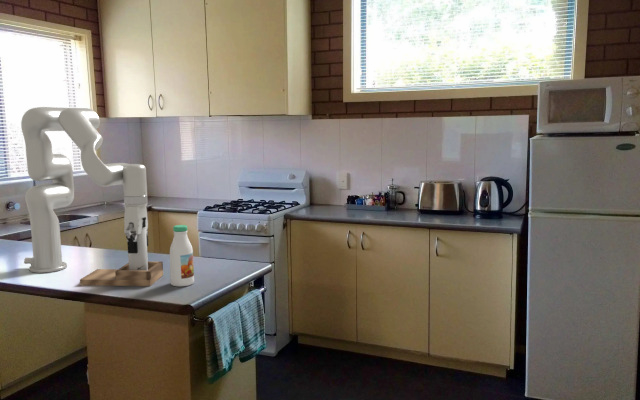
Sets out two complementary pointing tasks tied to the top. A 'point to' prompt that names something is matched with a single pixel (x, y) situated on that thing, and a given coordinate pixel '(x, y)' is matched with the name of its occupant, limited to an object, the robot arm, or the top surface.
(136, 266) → the travel mug
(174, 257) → the milk bottle
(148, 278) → the open box
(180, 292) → the top surface
